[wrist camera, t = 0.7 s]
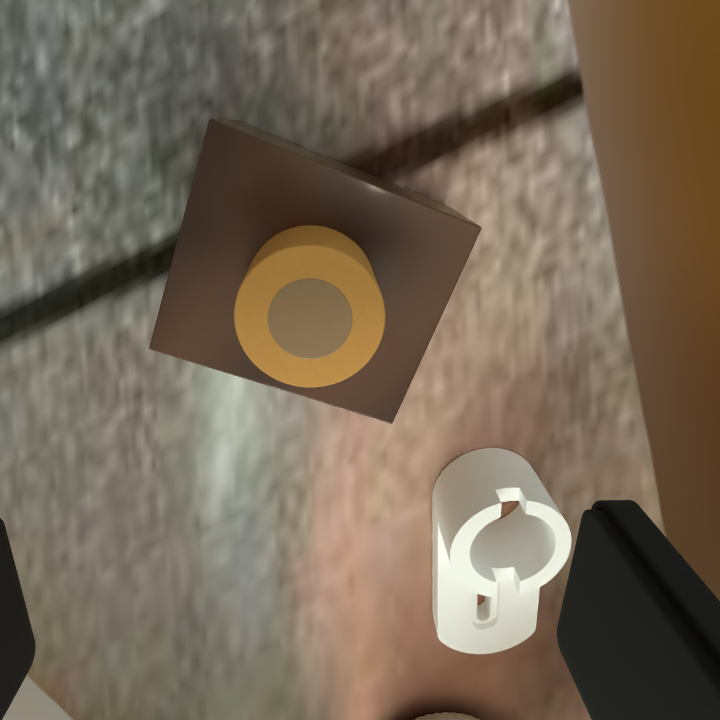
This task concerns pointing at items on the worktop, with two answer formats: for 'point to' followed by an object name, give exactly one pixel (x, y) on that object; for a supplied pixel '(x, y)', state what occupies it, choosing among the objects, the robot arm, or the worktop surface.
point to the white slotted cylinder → (492, 550)
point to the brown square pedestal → (300, 208)
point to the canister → (446, 716)
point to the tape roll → (309, 308)
